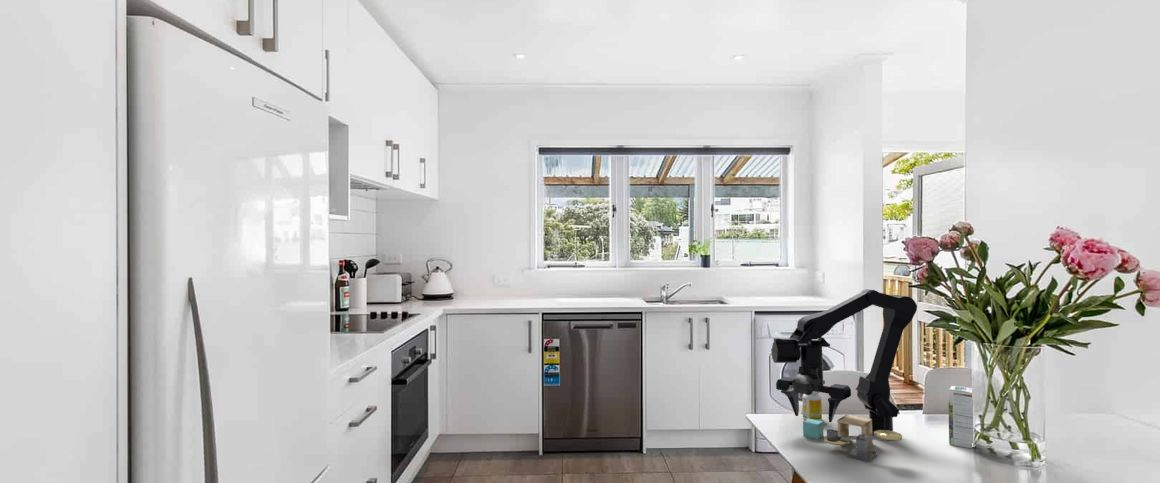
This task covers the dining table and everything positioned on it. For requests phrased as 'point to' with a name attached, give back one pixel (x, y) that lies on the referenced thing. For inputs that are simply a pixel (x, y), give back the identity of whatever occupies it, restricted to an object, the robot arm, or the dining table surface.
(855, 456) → the balance
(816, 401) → the supplement bottle
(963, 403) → the syrup box
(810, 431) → the block
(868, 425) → the cover
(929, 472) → the dining table surface
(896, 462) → the dining table surface
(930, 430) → the dining table surface
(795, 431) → the dining table surface
